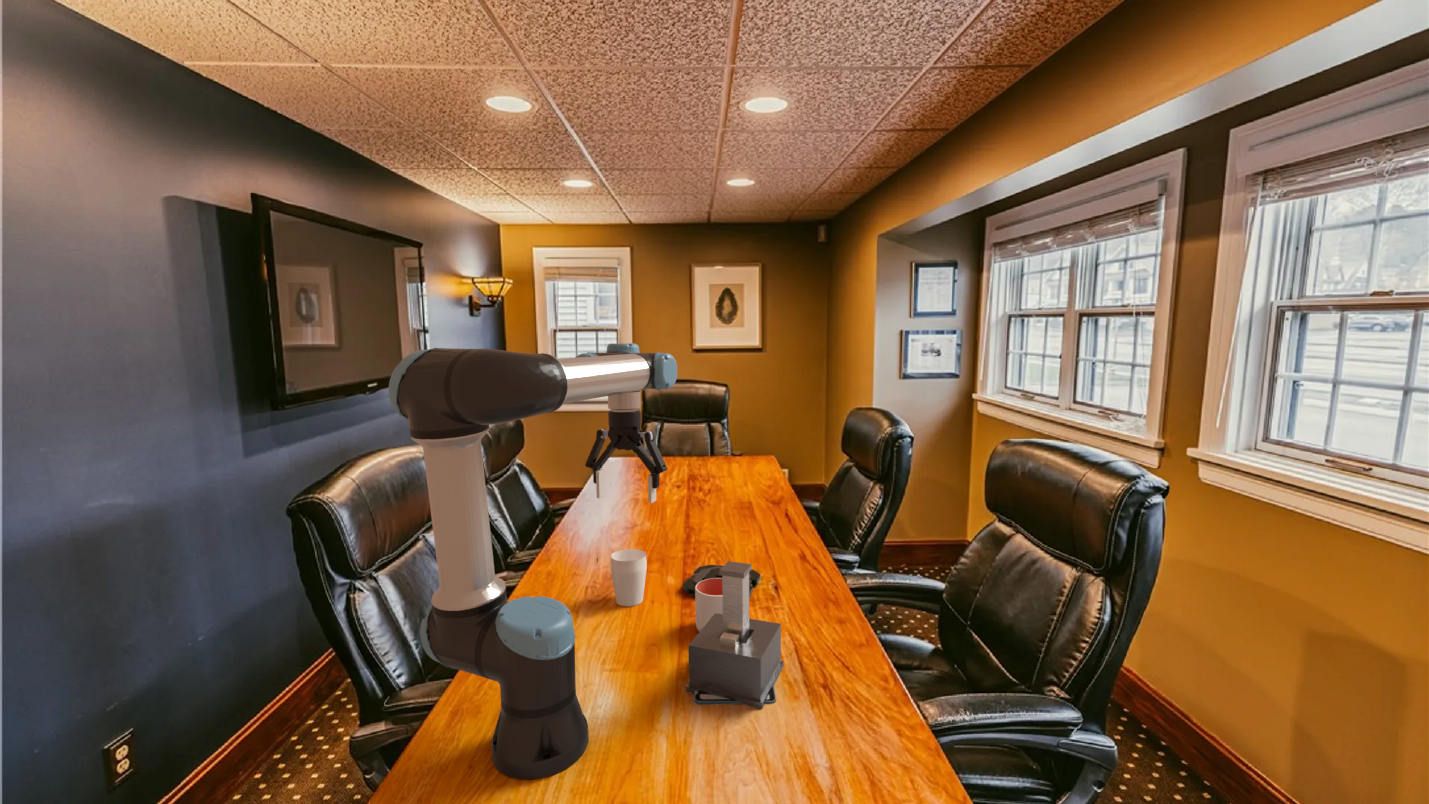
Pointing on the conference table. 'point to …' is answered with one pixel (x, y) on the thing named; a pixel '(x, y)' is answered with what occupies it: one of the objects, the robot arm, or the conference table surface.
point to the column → (736, 599)
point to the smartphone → (725, 699)
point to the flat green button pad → (714, 572)
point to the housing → (736, 662)
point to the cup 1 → (629, 576)
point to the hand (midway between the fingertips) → (626, 499)
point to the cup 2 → (708, 600)
